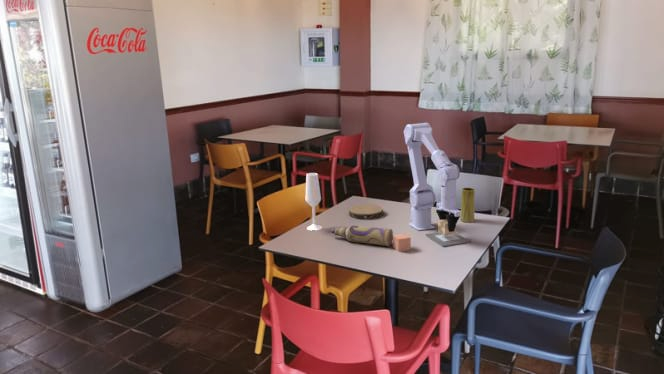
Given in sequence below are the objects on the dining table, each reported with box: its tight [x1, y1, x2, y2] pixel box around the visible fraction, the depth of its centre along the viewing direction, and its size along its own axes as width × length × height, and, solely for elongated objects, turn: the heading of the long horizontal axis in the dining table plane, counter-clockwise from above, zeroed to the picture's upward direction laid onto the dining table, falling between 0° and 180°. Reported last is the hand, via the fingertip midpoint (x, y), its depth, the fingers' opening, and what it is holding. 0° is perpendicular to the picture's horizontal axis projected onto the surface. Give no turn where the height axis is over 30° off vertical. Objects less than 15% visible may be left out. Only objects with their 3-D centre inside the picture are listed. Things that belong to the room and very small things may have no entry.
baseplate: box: [425, 231, 472, 248], centre depth 201 cm, size 14×12×1 cm
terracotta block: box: [392, 233, 412, 253], centre depth 193 cm, size 5×5×5 cm
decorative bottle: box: [330, 224, 394, 247], centre depth 202 cm, size 26×8×7 cm, turn 63°
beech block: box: [437, 219, 457, 236], centre depth 200 cm, size 5×5×5 cm
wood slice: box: [348, 203, 384, 221], centre depth 237 cm, size 16×16×3 cm
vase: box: [459, 187, 476, 223], centre depth 221 cm, size 6×6×14 cm
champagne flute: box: [304, 172, 323, 231], centre depth 218 cm, size 7×7×24 cm
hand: (447, 229), depth 200 cm, fingers closed on beech block, 5 cm apart
